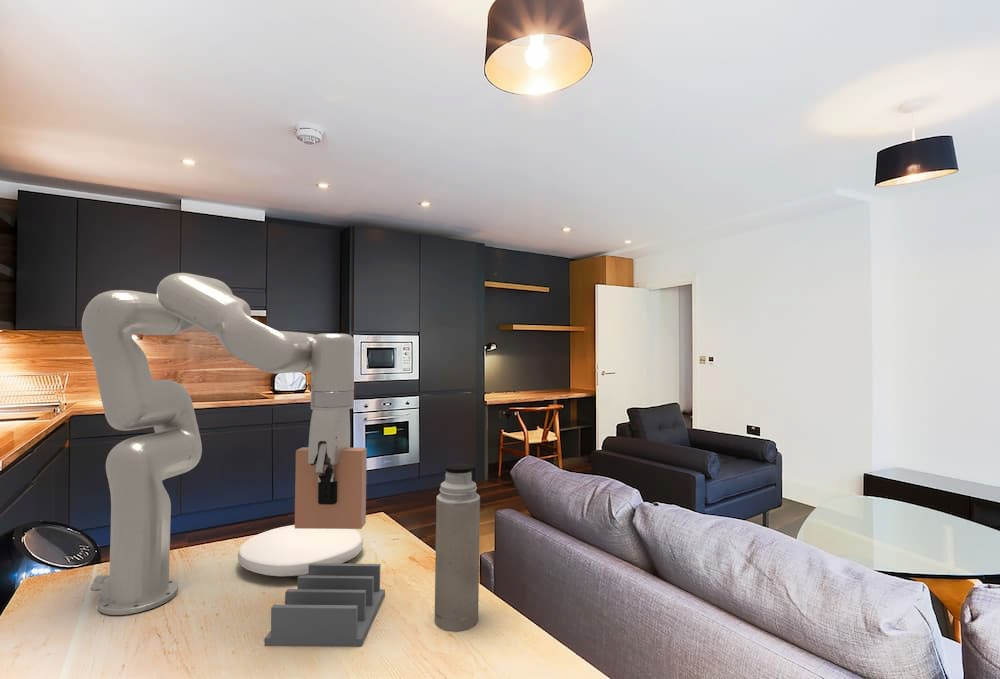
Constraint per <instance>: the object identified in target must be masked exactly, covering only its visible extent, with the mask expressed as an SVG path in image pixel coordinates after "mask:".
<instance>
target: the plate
mask: <svg viewBox="0 0 1000 679" xmlns="http://www.w3.org/2000/svg"><path fill="white" fill-rule="evenodd" d="M363 546H364V539H363V536H362V533H361V532H360V531H358V530H357V529H298V528H295V524H291V525H290V524H289V525H285V526H281V527H277V528H276V527H275V528H273V529H270V530H266V531H263V532H261V533H260V532H259V533H258V534H256V535H254V536H252V537H250V538H248V539H247V540H245V541H244V542H243V543H242V544H241V545H240V546H239V549H238V551H237V552H238V553H237V560H238V562H239V564H240V566H241V567H243V569H245V570H247V571H249V572H252V573H255V574H256V573H257V574H259V575H264V576H272V577H273V576H274V577H296V576H297V577H299V576H300V575H308V570H309V564H310V563H338V564H345V562H348V561H350V560H352V559H354V558H355V557H356V556H358V555H359V554H360V552H361V551H362V549H363Z"/></svg>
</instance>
